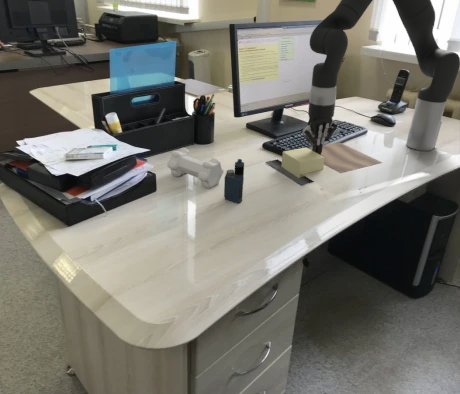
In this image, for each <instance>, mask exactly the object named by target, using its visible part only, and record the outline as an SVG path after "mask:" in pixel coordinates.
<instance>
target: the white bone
mask: <svg viewBox="0 0 460 394" xmlns="http://www.w3.org/2000/svg"><path fill="white" fill-rule="evenodd" d="M167 168H169V169H170V173H171V175H173V176H174V177H177V178H178V177H181V176H182V175H184V174H187V175H189V176H192V177H195V178H198V179H199V180H200V183H201V186H202V187H203V188H204V189H208V190H209V189H212V187H214V186H215V187H216V186H218V185H219V184H220V180H221V178H222V176H223V174H224V168H223V167H222V166H221V161H220V160H219V159H218V158H214V157H213V158H211V159H210V160H207V161H202V160H199V159H197V158H194V157H192V156H191V154H190V151H189V150H188V149H187V148H186V147H181V148H180V149H179V150H173V151H171V155H170V157H169V160H168V161H167Z"/></svg>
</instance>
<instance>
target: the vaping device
mask: <svg viewBox="0 0 460 394" xmlns="http://www.w3.org/2000/svg"><path fill="white" fill-rule="evenodd" d="M244 171H245V162H244V161H243V159H241V158H238V159H237V161H235V162H234V170H233V169H227V170H226V173H225V176H224V186H223V187H224V189H223V190H224V192H223V197H224V200H225V201H227V202H230V203H233V204H241V203H242V201H243V193H244V192H243V191H244V190H243V189H244V188H243V187H244V174H245V173H244Z"/></svg>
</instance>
